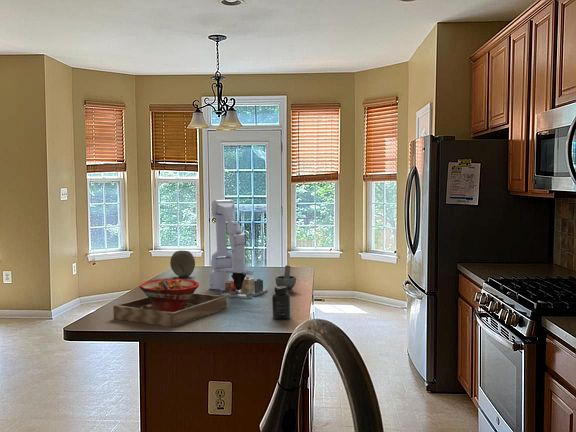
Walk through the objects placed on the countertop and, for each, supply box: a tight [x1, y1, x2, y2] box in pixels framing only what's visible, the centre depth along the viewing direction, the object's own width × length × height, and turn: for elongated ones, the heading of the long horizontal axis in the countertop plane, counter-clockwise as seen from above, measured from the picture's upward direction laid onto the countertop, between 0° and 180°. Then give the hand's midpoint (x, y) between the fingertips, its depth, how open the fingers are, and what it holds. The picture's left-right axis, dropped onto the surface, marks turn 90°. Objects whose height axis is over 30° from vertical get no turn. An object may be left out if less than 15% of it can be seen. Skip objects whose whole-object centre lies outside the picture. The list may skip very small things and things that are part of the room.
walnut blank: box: [225, 280, 237, 293], centre depth 256 cm, size 5×4×5 cm
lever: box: [229, 279, 238, 295], centre depth 246 cm, size 4×3×6 cm
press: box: [238, 278, 268, 297], centre depth 254 cm, size 11×12×7 cm
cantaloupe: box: [169, 250, 196, 278], centre depth 301 cm, size 14×14×15 cm
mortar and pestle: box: [275, 265, 297, 294], centre depth 257 cm, size 11×9×12 cm
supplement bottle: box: [271, 285, 291, 321], centre depth 205 cm, size 7×7×12 cm
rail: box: [219, 290, 253, 300], centre depth 246 cm, size 15×3×2 cm, turn 62°
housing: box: [241, 276, 256, 291], centre depth 255 cm, size 5×4×6 cm
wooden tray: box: [112, 292, 228, 328], centre depth 215 cm, size 29×33×5 cm
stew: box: [139, 277, 200, 312], centre depth 213 cm, size 28×24×16 cm
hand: (238, 289), depth 245 cm, fingers closed
